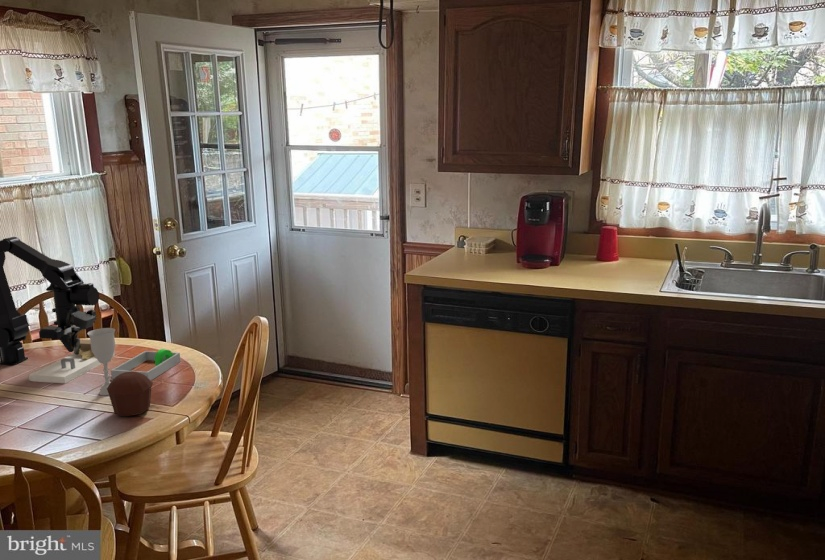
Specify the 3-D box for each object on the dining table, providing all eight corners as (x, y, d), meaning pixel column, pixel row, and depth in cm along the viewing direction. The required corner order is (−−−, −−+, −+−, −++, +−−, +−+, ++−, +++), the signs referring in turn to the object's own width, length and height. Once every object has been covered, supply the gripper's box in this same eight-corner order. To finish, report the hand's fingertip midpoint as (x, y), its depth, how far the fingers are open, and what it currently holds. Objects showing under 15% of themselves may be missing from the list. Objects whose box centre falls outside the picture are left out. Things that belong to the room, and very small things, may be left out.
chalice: (116, 385, 198) (110, 326, 194) (126, 391, 193) (119, 331, 189) (90, 392, 193) (83, 331, 189) (99, 398, 188) (92, 336, 184)
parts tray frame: (111, 379, 202) (110, 370, 202) (146, 359, 220) (145, 350, 219) (148, 382, 200) (147, 372, 200) (180, 361, 218) (179, 352, 217)
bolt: (69, 357, 215) (67, 341, 214) (89, 348, 225) (87, 332, 224) (86, 358, 214) (84, 342, 213) (106, 349, 224) (104, 333, 222)
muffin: (107, 406, 183) (103, 371, 181) (150, 397, 189) (147, 363, 186) (112, 421, 173) (108, 385, 171) (157, 412, 178) (154, 376, 176)
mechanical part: (169, 379, 209) (167, 354, 207) (156, 376, 212) (153, 351, 210) (199, 367, 219) (196, 343, 218) (185, 364, 222) (183, 341, 220)
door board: (29, 381, 202) (27, 363, 201) (82, 355, 225) (80, 339, 224) (65, 383, 200) (63, 365, 199) (114, 356, 223) (113, 341, 222)
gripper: (67, 313, 201) (73, 363, 204) (106, 298, 219) (112, 344, 222) (34, 311, 203) (41, 361, 206) (76, 296, 221) (81, 342, 224)
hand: (71, 351), depth 215 cm, fingers closed
